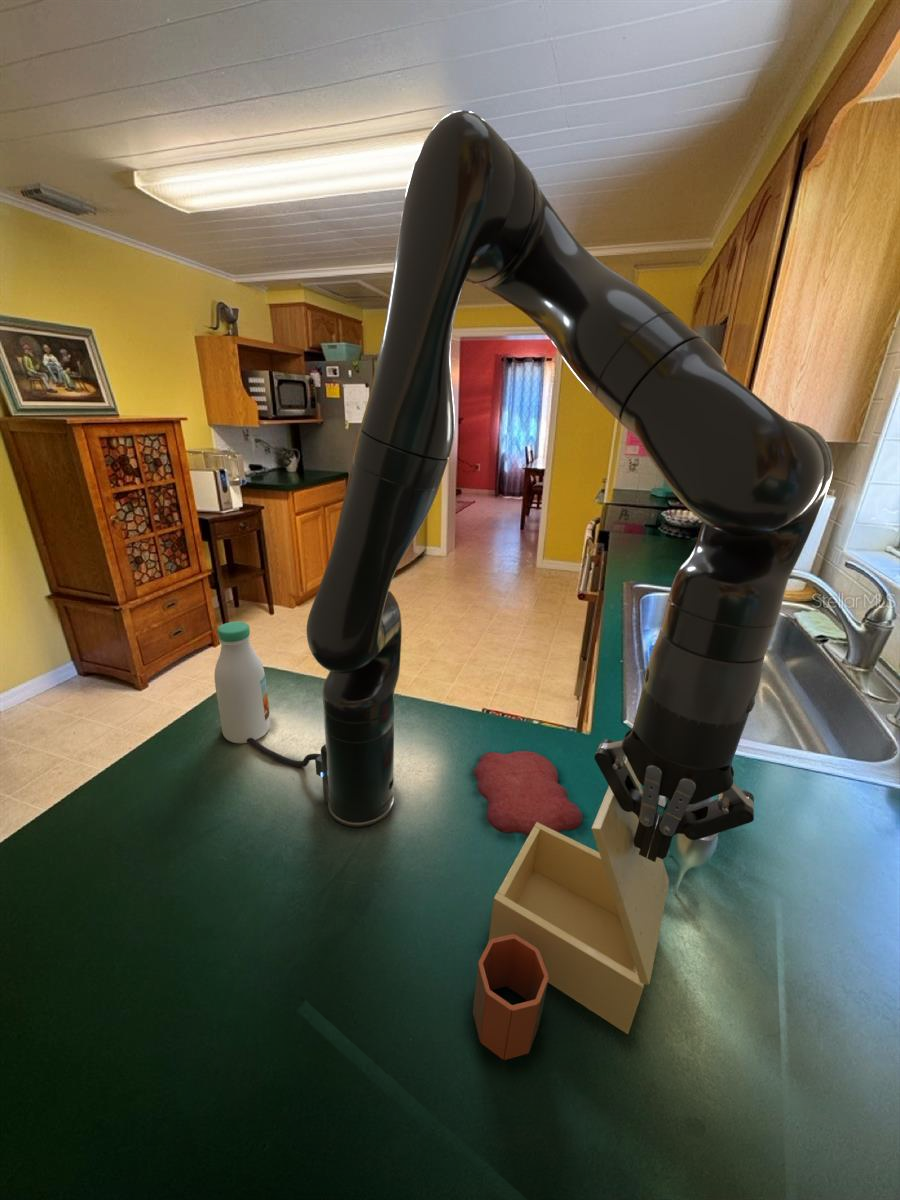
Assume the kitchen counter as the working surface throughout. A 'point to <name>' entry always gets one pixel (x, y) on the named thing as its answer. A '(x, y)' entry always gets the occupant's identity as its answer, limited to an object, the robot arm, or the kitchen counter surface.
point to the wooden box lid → (632, 880)
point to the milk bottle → (240, 686)
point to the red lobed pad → (524, 793)
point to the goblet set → (690, 847)
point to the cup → (495, 1017)
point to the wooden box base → (570, 923)
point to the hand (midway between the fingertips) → (648, 851)
